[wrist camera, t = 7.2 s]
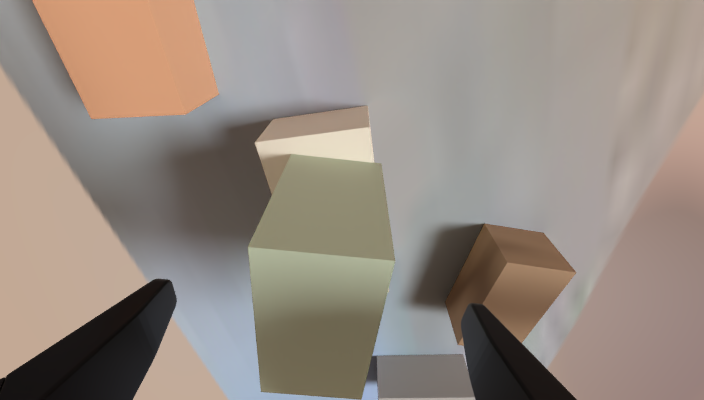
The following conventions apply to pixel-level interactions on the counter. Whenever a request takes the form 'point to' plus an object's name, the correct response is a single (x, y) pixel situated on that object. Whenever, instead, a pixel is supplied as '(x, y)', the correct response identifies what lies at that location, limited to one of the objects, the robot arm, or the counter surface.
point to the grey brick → (423, 377)
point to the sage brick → (321, 276)
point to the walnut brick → (509, 279)
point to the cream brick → (315, 139)
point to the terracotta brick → (132, 55)
